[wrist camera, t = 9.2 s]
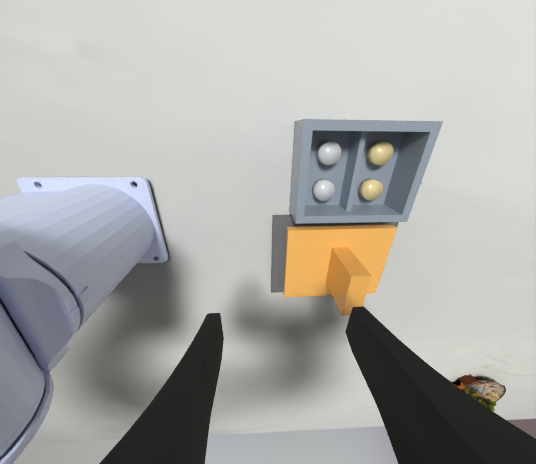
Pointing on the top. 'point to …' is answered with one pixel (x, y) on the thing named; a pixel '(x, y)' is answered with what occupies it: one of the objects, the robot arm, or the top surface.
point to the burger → (482, 390)
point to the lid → (336, 262)
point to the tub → (358, 169)
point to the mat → (280, 244)
